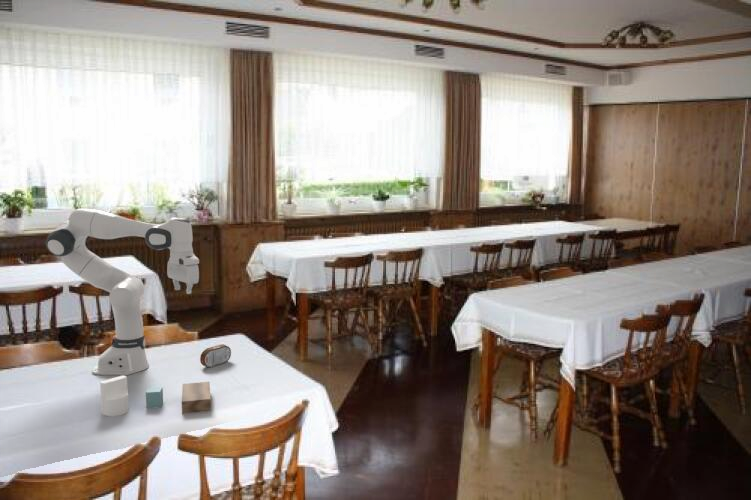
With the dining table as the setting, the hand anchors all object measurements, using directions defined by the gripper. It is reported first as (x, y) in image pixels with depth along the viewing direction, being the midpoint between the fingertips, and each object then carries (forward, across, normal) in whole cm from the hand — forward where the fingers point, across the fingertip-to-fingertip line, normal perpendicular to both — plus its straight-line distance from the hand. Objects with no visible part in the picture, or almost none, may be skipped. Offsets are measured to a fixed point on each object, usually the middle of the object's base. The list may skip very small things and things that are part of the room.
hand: (183, 291), depth 254 cm
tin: (+37, -8, +19) cm, 43 cm away
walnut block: (+38, +25, -9) cm, 46 cm away
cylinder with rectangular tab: (+38, +12, -34) cm, 52 cm away
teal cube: (+37, +16, -21) cm, 46 cm away
